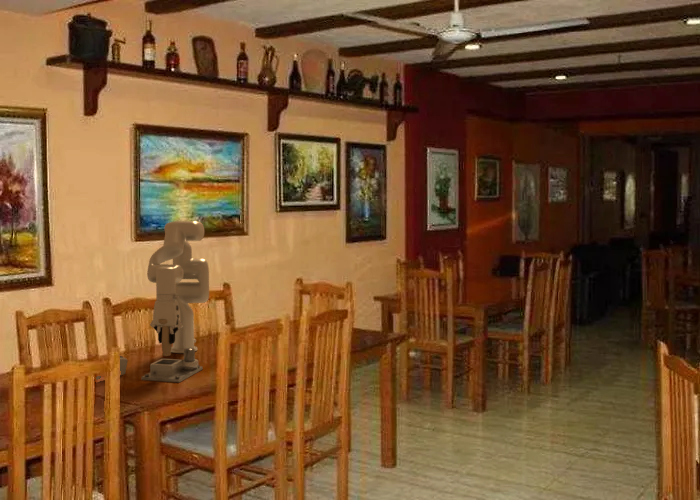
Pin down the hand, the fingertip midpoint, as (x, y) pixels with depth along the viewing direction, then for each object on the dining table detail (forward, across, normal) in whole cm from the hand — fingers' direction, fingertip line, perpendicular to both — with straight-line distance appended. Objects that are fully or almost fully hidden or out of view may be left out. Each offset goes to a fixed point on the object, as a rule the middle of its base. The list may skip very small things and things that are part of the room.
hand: (166, 342), depth 316 cm
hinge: (+14, +20, +10) cm, 26 cm away
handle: (+5, 0, 0) cm, 5 cm away
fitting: (+13, -2, -1) cm, 13 cm away
